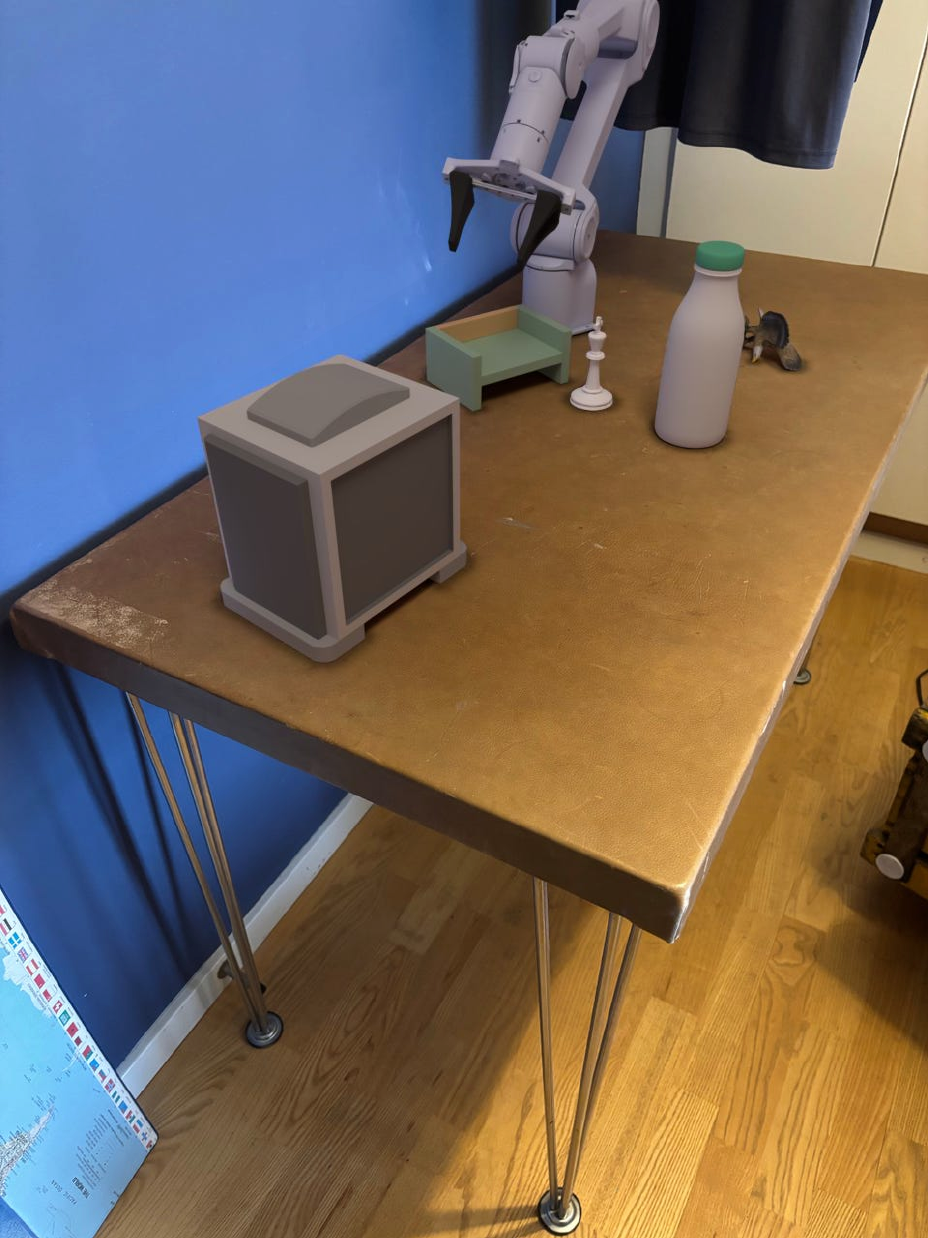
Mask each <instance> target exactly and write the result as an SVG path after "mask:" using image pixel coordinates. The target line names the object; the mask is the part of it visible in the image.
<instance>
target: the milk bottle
mask: <svg viewBox="0 0 928 1238" xmlns="http://www.w3.org/2000/svg"><path fill="white" fill-rule="evenodd" d="M745 256H746V249H745V248H744V246H742V245H741V244H738V243H736V242H732V241H728V240H708V241H703V242H701V243H699V244H698V245H697V247H696V251H695V256H694V261H695V262H694V265H693V269H694V270H695V272H694V277H693V280H692V283H691V285H690V286H689V288H688V290H687V292H686V294H685V295H684V297H683V299H682V301H681V302H680V304H679V305H678V307H677V309H676V310H675V313H674V315H673V316H672V320H671V323H670V326H669V328H668V329H669V330H668V335H667V340H666V346H665V351H664V357H663V358H664V359H663V365H662V370H661V377H660V382H659V383H660V385H659V389H658V390H659V391H658V397H657V404H656V406H657V407H656V412H655V417H654V419H655V420H654V429H655V432H656V434H657V436H658V437H659V438H660V439H662V440H663V441H664V442H666V443H669V444H670V445H673V446H677V447H681V448H688V449H704V448H709V447H713V446H715V445H717V444H719V443H720V442H721V441H722V440H723V439H724V437H725V436H726V432H727V428H728V424H729V419H730V415H731V409H732V404H733V399H734V396H735V395H734V394H735V391H736V390H735V388H736V385H737V380H738V373H739V371H740V370H739V369H740V364H741V359H742V354H743V341H744V331H745V315H744V311H743V308H742V303H741V299H740V295H739V283H738V281H739V275H740V274H741V273H742V271H743V265H744V261H745Z"/></svg>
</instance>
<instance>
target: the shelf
mask: <svg viewBox="0 0 928 1238" xmlns="http://www.w3.org/2000/svg"><path fill="white" fill-rule="evenodd" d="M572 336H573V335H572V330H571V329H569V328H567V327H565V326H563V325H561V324H559V323H557V322H555V321H553V320H551V319H550V318H548V317H546V316H544V315H542V314H540V313H538V312H536V311H534V310H532V309H530V308H528V307H526V306H525V305H523V304H522V303H520V304H519V303H518V304H516V305H511V306H508V307H504V308H500V309H497V310H496V309H495V310H491V311H489V312H484V313H480V314H476V315H471V316H469V317H464V318H461V319H457V320H452V321H448V322H445V323H441V324H437V325H433V326H429V327H426V328H425V352H426V353H425V357H426V381H427V382H429V383H431V385H434V386H435V387H436V388H437V389H439V390H440V391H442V392H444V393H447V394H450V395H452V396H455V397H458V398H460V405H463V406H464V407H466V408H467V409H468V410H470V411H471V412H475V411H479V410H482V387H483V386H487V385H490V384H494V383H498V382H500V381H504V380H507V379H511V378H514V377H518V376H521V375H524V374H527V373H532V372H535V371H537V372H539V373H540V374H542V375H544V376H546V377H547V378H549V379H551V380H553V381H554V382H555V383H558V384H559V385H563V384H566V383H569V376H570V363H571V348H572Z"/></svg>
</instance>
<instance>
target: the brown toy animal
mask: <svg viewBox="0 0 928 1238" xmlns="http://www.w3.org/2000/svg"><path fill="white" fill-rule="evenodd" d="M757 311H758V316H759V324H757V325H751V326H750V324H751V321H750V319H749V317H748V316H747V315H744V320H745V321H744V324H745V331H744V341H743V348H745V346H746V345H747V344H750V343H753V344H752V345H753V354H752V360H751V363H752V364H753V363H755V362H756V361H757V360H758V359H760V357H761V355H762V353H763V352H762V351H763V349H764V348H770V349H772V350H773V351H774V352H775V353H776V355H777V356H778V357H779V359H780V361H781V363H782V365H783V367H784V369H786V370H790V371H794V372H798V371H800V370H801V369H802V367H803V365H802V364H803V362H802V358H801V356H800V354H799V353H798V351H797V349H796V348H795V347H794V346H793V345H792V344H791V343H790V336H791V333H790V329H789V326H790V325H789V323H788V321H787V319H786V317H785V316H784V314H782V312H777V311H772V310H768V311H766V312H765V313H764V312H763V310H762V309H761V308H760V307H758V308H757ZM747 334H751V335H750V336H749V337H747ZM743 348H742V349H743Z"/></svg>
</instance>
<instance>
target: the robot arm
mask: <svg viewBox="0 0 928 1238" xmlns="http://www.w3.org/2000/svg"><path fill="white" fill-rule="evenodd" d="M659 25H660V4H659V1H658V0H578V3H577V6H576V9H575V10H570V9H568V10H566V11H565V12H564V13H563V18H561V19H560V20H559V21H558V22H557V23H555V24H553V25H552V26H551V27H549V29H548V30H547V31H546V32H545V33H543V34H542V35H529V36H527V38H526V39H525V40H521V42H520V43H519V44H517V45H516V48H515V52H514V59H513V69H512V74H511V75H512V76H511V80H510V82H509V85H508V87H509V89H508V95H509V101H508V105H507V107H506V110H505V113H504V116H503V119H502V121H501V125H500V127H499V131H498V135H497V137H496V140H495V143H494V146H493V149H492V152H491V155H490V158H489V159H461V158H460V159H459V158H453V157H448V156H447V157H446V160H445V162H444V165H443V167H442V171H441V176H442V182H443V184H444V185H448V186H450V201H451V202H450V203H451V204H450V205H451V214H450V215H451V217H450V227H449V234H448V240H447V244H448V245H447V246H448V249H449V252H452V253H457V250H458V248H459V246H460V242H461V239H462V235H463V231H464V227H465V225H466V223H467V220H468V218H469V216H470V214H471V212H472V210H473V208H474V206H475V204H476V202H475V193H474V189H477V190H481V191H485V192H487V193H490V194H492V195H494V196H496V197H499V198H501V199H503V200H506V201H508V202H512V203H520V204H519V205H518V206H517V207H516V209H515V210H514V213H513V215H512V218H511V224H510V230H509V239H510V245H511V248H512V250H513V252H514V254H516V255H517V257H516V269H517V270H520V271H521V270H522V289H521V290H522V291H521V296H522V297H521V304H523V305H525V306H526V307H528V308H530V309H532V310H534V311H536V312H538V313H540V314H542V315H544V316H546V317H548V318H550V319H551V320H553V321H555V322H557V323H559V324H561V325H563V326H565V327H567V328H569V329H571V330H572V336H575V335H579V334H583V333H586V332H589V331H592V330H593V331H594V330H595V329H594V325H595V324H596V323H594V317H595V316H594V315H595V307H596V297H597V296H596V294H597V282H598V280H597V272H596V269H595V266H594V263H593V261H592V260H591V259H590V258H591V257H590V256H591V254H592V252H593V249H594V246H595V241H596V235H597V231H598V227H599V223H600V210H599V205H598V201H597V198H596V197H595V196H594V194H593V193H592V192H591V191H590V190H589V189H590V186H591V184H592V182H593V178H594V176H595V173H596V170H597V169H598V166H599V163H600V160H601V157H602V155H603V152H604V149H605V147H606V145H607V142H608V140H609V136H610V134H611V131H612V129H613V126H614V123H615V120H616V117H617V115H618V113H619V110H620V107H621V105H622V103H623V100H624V98H625V96H626V94H627V91H628V89H629V87H631V86H632V85H635V84H636V83H638V82H639V81H641V80H642V79H643V77H644V75H645V71H646V70H647V68H648V65H649V63H650V61H651V57H652V55H653V52H654V50H655V47H656V42H657V36H658V31H659ZM582 81H583V82H584V83H585V85H586V89H585V92H584V94H583V97H582V100H581V102H580V104H579V107H578V110H577V112H576V115H575V117H574V119H573V122H572V125H571V128H570V130H569V133H568V135H567V138H566V141H565V142H564V146H563V148H562V151H561V153H560V155H559V158H558V160H557V163H556V166H555V169H554V171H553V174H552V176H551V178H548V177H547V176H544V175H542V171H543V169H544V165H545V162H546V159H547V157H548V153H549V151H550V148H551V144H552V141H553V139H554V135H555V132H556V129H557V126H558V123H559V121H560V118H561V114H562V111H563V108H564V105H565V102H566V100H567V99H568V98H569V99H570V100H573V99H575V98H576V97H577V95H578V92H579V89H580V86H581V82H582Z"/></svg>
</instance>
